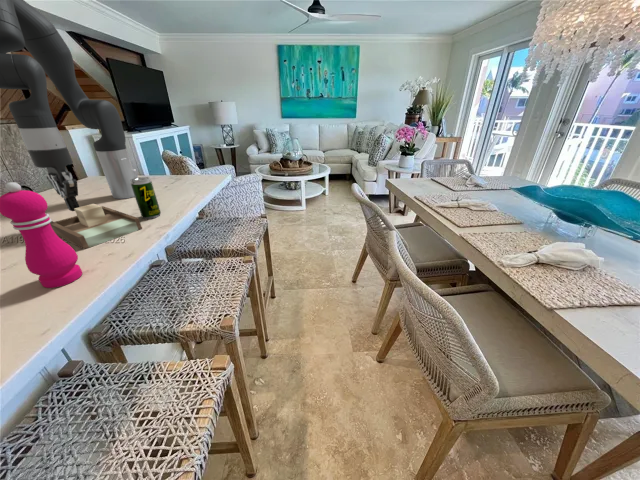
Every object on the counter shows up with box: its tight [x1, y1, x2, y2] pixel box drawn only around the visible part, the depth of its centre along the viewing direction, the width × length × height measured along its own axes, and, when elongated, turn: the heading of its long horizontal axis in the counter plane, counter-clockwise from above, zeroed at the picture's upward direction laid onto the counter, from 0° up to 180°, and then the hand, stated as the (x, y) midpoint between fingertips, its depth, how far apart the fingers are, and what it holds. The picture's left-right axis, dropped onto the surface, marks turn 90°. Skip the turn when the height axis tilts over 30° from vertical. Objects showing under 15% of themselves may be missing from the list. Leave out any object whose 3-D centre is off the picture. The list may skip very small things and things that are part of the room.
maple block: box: [74, 203, 107, 227], centre depth 72 cm, size 4×4×4 cm
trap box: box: [50, 205, 143, 250], centre depth 74 cm, size 14×20×3 cm
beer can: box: [130, 176, 162, 220], centre depth 82 cm, size 5×5×12 cm
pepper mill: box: [0, 181, 83, 289], centre depth 49 cm, size 7×7×20 cm
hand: (74, 210), depth 76 cm, fingers closed
